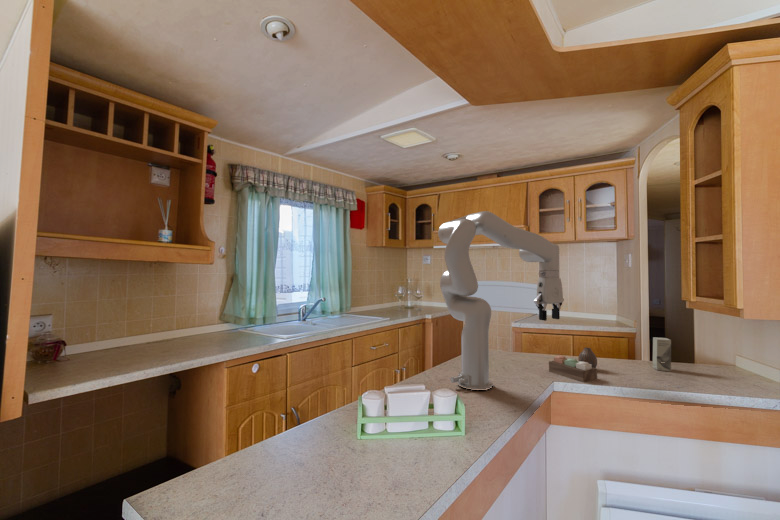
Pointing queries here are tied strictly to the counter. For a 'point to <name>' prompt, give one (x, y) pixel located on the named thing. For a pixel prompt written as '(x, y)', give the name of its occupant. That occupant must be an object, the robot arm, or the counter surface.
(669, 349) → the box
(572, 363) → the sage button
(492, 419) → the counter surface
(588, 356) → the vase
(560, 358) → the terracotta button
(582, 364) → the cream button
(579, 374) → the brown tray
